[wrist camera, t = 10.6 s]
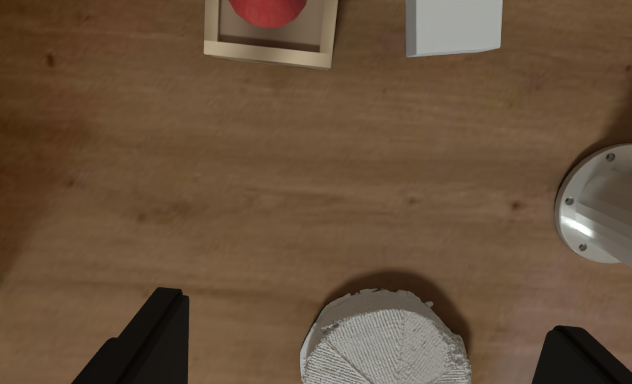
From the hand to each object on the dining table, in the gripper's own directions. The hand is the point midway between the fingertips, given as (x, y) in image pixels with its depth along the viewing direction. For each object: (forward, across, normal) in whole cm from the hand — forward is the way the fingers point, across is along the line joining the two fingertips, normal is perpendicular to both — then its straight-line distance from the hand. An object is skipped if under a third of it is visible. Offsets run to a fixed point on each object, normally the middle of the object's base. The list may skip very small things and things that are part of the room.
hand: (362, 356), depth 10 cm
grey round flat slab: (+31, -9, +24) cm, 40 cm away
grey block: (+30, -9, -14) cm, 35 cm away
